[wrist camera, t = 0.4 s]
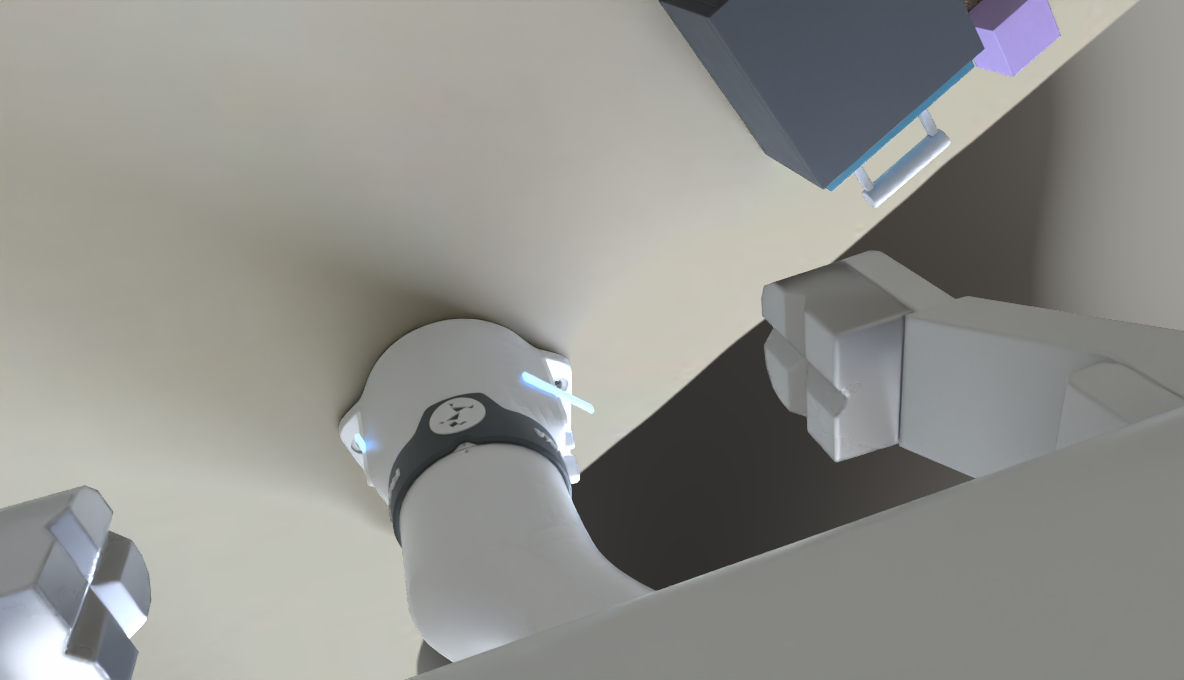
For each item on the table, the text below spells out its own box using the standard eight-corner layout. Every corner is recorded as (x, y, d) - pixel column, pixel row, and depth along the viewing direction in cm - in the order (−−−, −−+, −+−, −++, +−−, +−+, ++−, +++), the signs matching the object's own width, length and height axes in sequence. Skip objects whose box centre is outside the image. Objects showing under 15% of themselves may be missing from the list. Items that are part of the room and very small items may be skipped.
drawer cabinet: (906, 29, 60) (985, 48, 52) (765, 154, 61) (823, 190, 54) (815, -149, 52) (894, -155, 45) (658, 0, 54) (708, 18, 46)
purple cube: (1022, 27, 62) (1061, 35, 59) (976, 67, 63) (1013, 77, 59) (1003, -19, 60) (1042, -14, 57) (956, 22, 60) (992, 30, 57)
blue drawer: (942, 107, 63) (1004, 129, 57) (819, 214, 64) (867, 246, 59) (831, -111, 52) (893, -111, 47) (688, 23, 54) (731, 39, 48)
